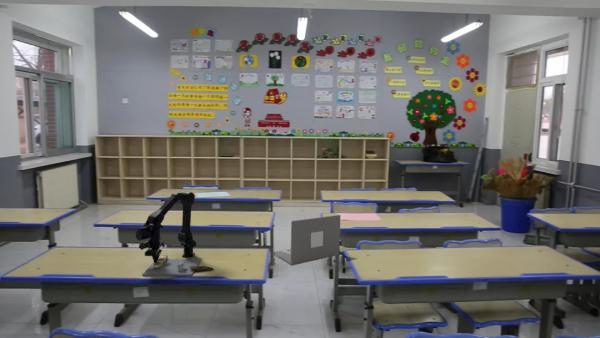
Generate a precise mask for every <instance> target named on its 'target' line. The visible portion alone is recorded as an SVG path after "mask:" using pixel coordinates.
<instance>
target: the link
mask: <svg viewBox="0 0 600 338" xmlns="http://www.w3.org/2000/svg"><path fill="white" fill-rule="evenodd" d="M167 259H169V257H168V255H167V254H162V255H160V256H159V260H158V261H157V262H155V263H154V264H153V269H159V268H161V266H162V265H163V263H164V262H165V261H166V260H167Z"/></svg>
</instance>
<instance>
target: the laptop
mask: <svg viewBox="0 0 600 338" xmlns="http://www.w3.org/2000/svg"><path fill="white" fill-rule="evenodd" d="M290 226H291V227H290V232H291V233H290V249H287V250H286V251H288V252H289V253H288V252H286V251H282V250H279V251H274V252H273V256H275V257H276V258H277V259H280V260H281V261H282V262H284V263H286V264H288V265H290V266H296V265H301V264H304V263H305V264H306V263H310V262H314V261H318V260H323V259H327V258H331V257H332V258H333V257H335V256H336V257H337V256H339V255H340V248H341V247H340V246H341V244H340V242H341V241H340V240H341V238H340V237H341V214H337V215H328V216H321V217H320V216H319V217H312V218H311V217H310V218H305V219H304V218H303V219H298V220H297V219H295V220H291V225H290Z"/></svg>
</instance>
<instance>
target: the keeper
mask: <svg viewBox="0 0 600 338" xmlns="http://www.w3.org/2000/svg"><path fill="white" fill-rule="evenodd" d="M185 263H186V262H180V263H179V264H178V271H184V264H185Z"/></svg>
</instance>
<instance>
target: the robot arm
mask: <svg viewBox="0 0 600 338" xmlns="http://www.w3.org/2000/svg"><path fill="white" fill-rule="evenodd" d="M195 199H196V196H195V193H194V192H192V191H191V192H190V191H185V190H184V191H182V192H173V193H171V195H170V196H169V198H167V199H166V201H165V202H164V203H163V204H162V205H161V206H160V207H159V208H158V209H157V210H155V211H153V212H151V214H149V215H148V217H147V220H146V221H145V222H144V224H143V227H142V226H141V227H138V228H137V230H136V233H135V238H136V240H137V241H142V242H140V243H139V245H138V248H139V249H140V251H143V250H145V249H146V251H145V252H144V257H151V258H152V260H153V262H154V263H155V262H157V261H158V259H159V258H160V257H161V253H162V252H163V249H161V247H162V248H165V247H166V243H165V241H162V237H161V229H163V228H164V226H163V225H162V223H163V221H164V220H165V216H166V215H167V214H168V213H169V211H170V210H171V209H172V208H173V207H174V206H175V205H176V203H177V202H178V201H180V204H181V205H182V218H181V219H182V220H181V221H182V222H181V231H180V232H178V233H177V240H178V242H179V243H180V245H181V246H182V247H183V254H182V255H181V257H182V258H193V257H194V255H196V253H195V252H194V248H195V247H196V246H197V242H196V240H194V239H193V238H194V237H193V233H192V230H191V220H192V219H191V218H192V206H193V205H194V202H195ZM147 239H148V240H147ZM144 240H146V241H144Z"/></svg>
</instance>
